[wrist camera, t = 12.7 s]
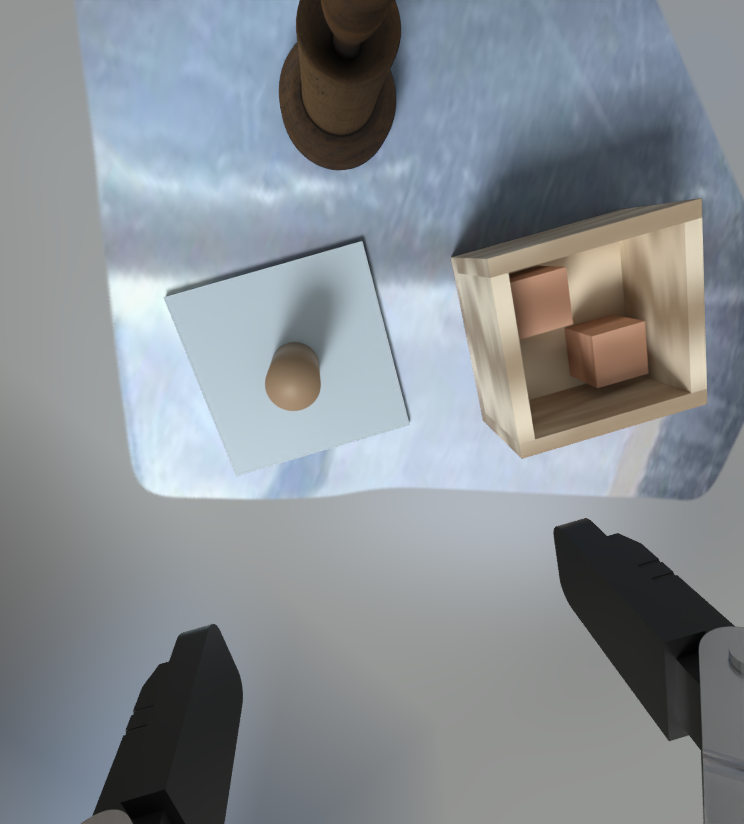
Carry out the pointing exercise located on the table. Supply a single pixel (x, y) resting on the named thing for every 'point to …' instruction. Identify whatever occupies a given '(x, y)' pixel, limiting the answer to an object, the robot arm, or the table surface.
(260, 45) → the table surface
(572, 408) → the box
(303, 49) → the mortar and pestle
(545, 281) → the block
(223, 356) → the lid
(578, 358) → the block
